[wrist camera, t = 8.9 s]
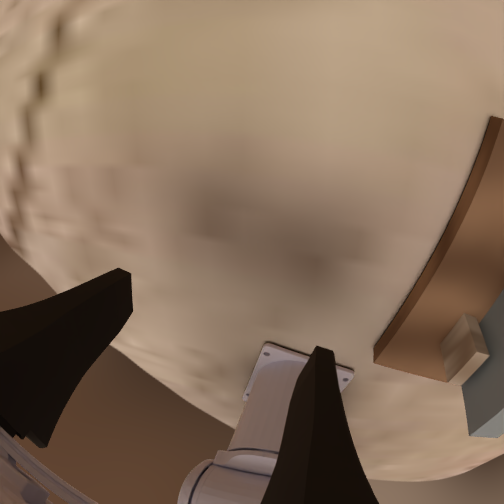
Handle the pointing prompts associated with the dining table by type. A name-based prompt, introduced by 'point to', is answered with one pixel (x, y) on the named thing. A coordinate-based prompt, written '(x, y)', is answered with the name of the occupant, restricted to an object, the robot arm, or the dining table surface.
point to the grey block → (488, 379)
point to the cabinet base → (456, 281)
